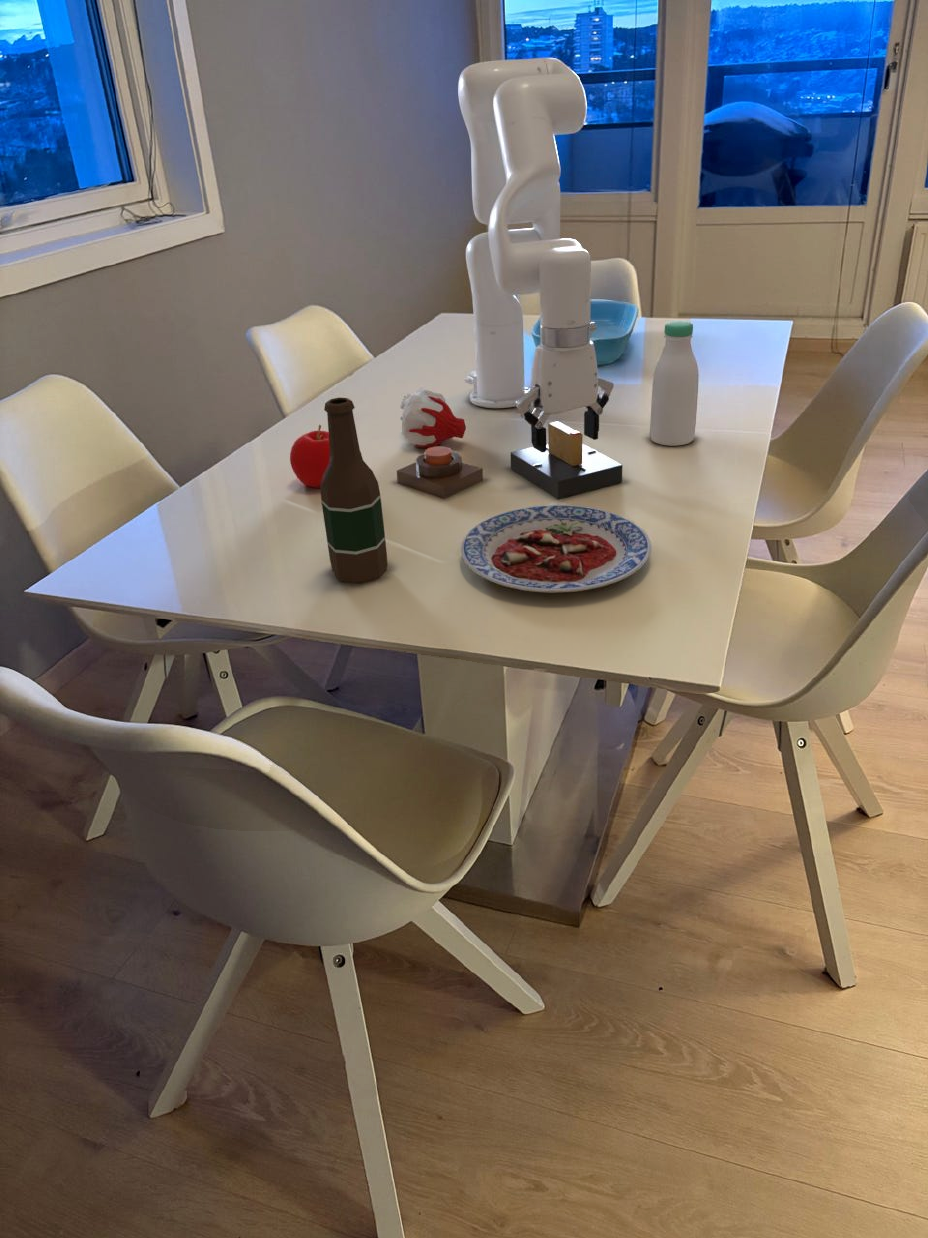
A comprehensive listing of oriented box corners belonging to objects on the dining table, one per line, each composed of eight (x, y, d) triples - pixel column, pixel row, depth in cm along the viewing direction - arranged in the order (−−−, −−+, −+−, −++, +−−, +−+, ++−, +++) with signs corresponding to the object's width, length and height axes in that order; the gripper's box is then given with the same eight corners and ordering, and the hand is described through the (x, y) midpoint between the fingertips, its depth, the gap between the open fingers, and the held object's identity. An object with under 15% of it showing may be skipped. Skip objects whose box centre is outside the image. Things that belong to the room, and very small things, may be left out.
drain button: (419, 462, 153) (418, 452, 152) (438, 454, 156) (437, 444, 155) (438, 468, 150) (438, 458, 149) (457, 459, 153) (457, 449, 152)
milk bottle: (694, 447, 162) (703, 329, 151) (648, 446, 163) (654, 329, 153) (694, 431, 168) (702, 317, 158) (650, 430, 170) (656, 317, 159)
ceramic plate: (601, 624, 114) (601, 602, 112) (425, 578, 126) (423, 559, 125) (679, 538, 132) (680, 519, 131) (518, 506, 145) (518, 488, 143)
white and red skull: (407, 425, 178) (479, 443, 173) (377, 445, 169) (453, 464, 164) (408, 379, 173) (483, 395, 168) (378, 397, 164) (456, 415, 159)
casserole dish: (626, 372, 201) (627, 338, 197) (523, 370, 206) (522, 337, 202) (641, 328, 231) (643, 298, 227) (551, 327, 236) (551, 298, 233)
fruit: (333, 496, 152) (325, 437, 147) (284, 491, 155) (274, 433, 150) (358, 474, 159) (351, 417, 154) (311, 470, 162) (302, 414, 157)
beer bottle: (332, 560, 133) (308, 393, 120) (388, 555, 133) (369, 388, 120) (330, 586, 126) (305, 413, 114) (388, 581, 126) (369, 407, 114)
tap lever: (548, 452, 155) (548, 421, 153) (557, 449, 156) (557, 419, 153) (572, 466, 149) (573, 434, 147) (582, 463, 150) (582, 432, 147)
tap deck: (510, 469, 158) (510, 451, 156) (571, 454, 162) (571, 436, 161) (557, 499, 146) (557, 480, 145) (622, 482, 151) (622, 463, 149)
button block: (397, 482, 155) (395, 460, 153) (435, 466, 161) (434, 443, 159) (445, 498, 149) (443, 475, 147) (483, 480, 154) (482, 457, 152)
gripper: (599, 321, 149) (597, 426, 157) (503, 339, 142) (507, 447, 151) (627, 331, 143) (623, 439, 151) (528, 350, 136) (530, 461, 145)
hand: (565, 443), depth 151 cm, fingers open, 9 cm apart
